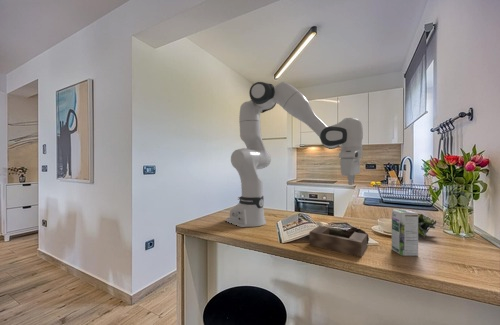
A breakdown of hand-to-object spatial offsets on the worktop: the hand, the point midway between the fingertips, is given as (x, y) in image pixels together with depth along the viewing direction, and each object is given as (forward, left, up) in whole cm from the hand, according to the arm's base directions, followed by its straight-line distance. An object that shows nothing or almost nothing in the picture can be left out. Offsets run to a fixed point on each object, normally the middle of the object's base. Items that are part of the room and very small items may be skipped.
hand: (351, 184), depth 98 cm
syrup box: (+20, -14, -21) cm, 32 cm away
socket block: (0, -22, -21) cm, 30 cm away
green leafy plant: (+24, +10, -22) cm, 34 cm away
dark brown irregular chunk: (+1, -13, -22) cm, 25 cm away
